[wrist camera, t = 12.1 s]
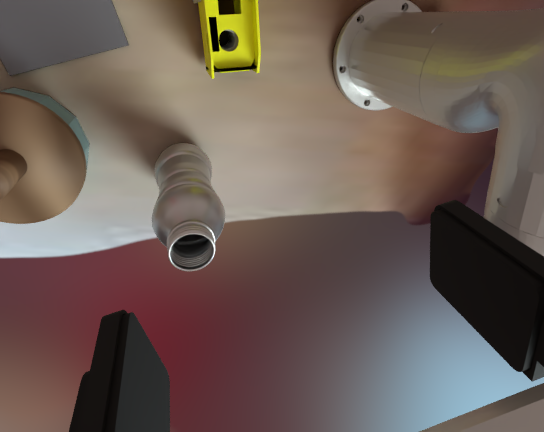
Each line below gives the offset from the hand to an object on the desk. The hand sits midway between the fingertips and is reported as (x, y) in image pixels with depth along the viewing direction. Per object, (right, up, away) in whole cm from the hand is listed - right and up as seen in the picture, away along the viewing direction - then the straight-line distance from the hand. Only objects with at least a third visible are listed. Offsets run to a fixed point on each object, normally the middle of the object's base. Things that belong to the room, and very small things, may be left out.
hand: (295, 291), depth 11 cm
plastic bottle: (-12, +9, +35) cm, 38 cm away
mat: (-22, +22, +24) cm, 40 cm away
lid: (-26, +8, +25) cm, 37 cm away
